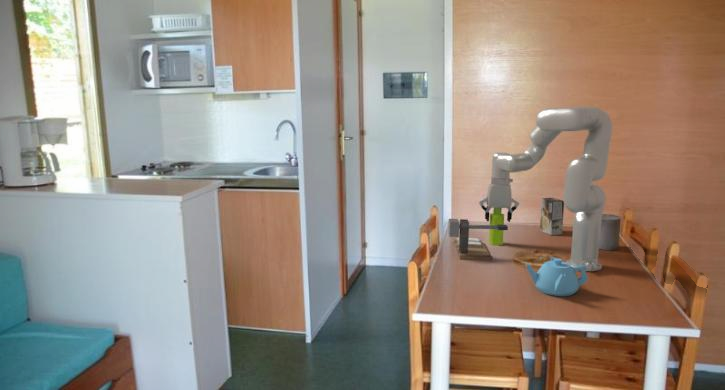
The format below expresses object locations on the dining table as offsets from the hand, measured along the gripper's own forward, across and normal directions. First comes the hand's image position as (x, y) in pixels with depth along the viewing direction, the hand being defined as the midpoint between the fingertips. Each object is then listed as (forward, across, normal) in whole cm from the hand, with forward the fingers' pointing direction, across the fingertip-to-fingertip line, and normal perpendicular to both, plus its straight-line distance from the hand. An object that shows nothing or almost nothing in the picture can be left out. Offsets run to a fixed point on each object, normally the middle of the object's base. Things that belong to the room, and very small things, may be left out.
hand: (498, 220), depth 233 cm
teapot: (+10, -9, +56) cm, 58 cm away
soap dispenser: (+10, 0, 0) cm, 10 cm away
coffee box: (+10, -29, -21) cm, 37 cm away
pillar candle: (+10, -45, +3) cm, 47 cm away
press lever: (+2, +12, +19) cm, 22 cm away
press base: (+10, +13, +12) cm, 20 cm away
